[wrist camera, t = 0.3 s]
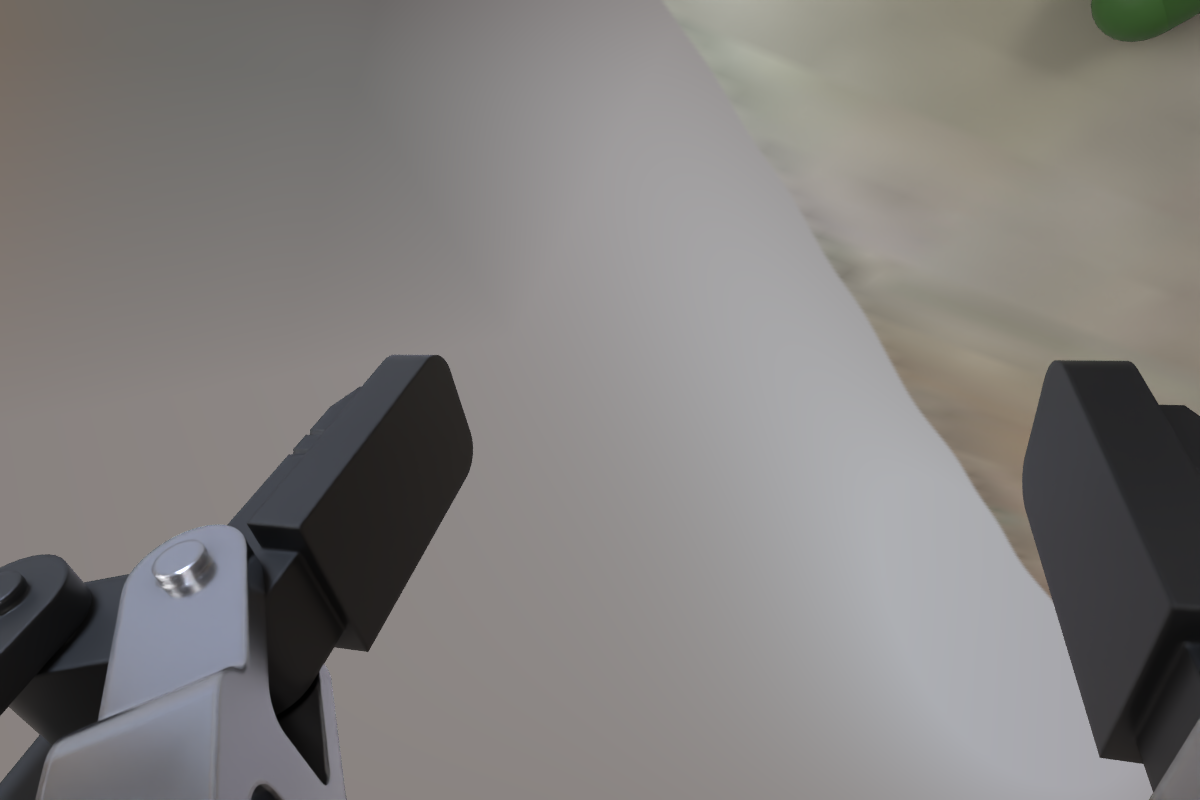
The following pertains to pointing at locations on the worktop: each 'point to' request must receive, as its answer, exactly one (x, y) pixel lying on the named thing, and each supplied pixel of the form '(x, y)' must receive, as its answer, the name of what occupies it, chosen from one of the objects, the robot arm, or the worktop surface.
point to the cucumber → (1141, 17)
